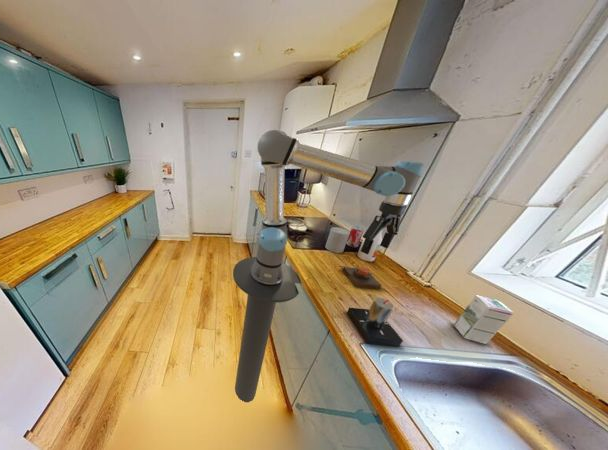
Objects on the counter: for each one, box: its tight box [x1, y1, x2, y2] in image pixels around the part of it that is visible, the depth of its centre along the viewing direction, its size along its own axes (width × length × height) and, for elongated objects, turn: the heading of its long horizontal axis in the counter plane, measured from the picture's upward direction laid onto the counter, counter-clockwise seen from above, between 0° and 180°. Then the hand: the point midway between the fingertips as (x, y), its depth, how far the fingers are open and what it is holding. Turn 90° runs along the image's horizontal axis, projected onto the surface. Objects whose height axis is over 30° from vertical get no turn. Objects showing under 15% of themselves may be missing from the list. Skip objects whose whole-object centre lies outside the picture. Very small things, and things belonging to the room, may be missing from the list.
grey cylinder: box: [324, 226, 350, 254], centre depth 116 cm, size 10×10×12 cm
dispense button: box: [357, 266, 370, 276], centre depth 91 cm, size 4×4×2 cm
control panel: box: [346, 307, 404, 348], centre depth 68 cm, size 12×10×3 cm
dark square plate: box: [342, 266, 382, 290], centre depth 93 cm, size 12×10×4 cm
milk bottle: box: [357, 228, 385, 262], centre depth 106 cm, size 8×8×20 cm
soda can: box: [346, 226, 364, 248], centre depth 120 cm, size 6×6×12 cm
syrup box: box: [453, 294, 515, 345], centre depth 65 cm, size 6×6×14 cm
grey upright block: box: [365, 297, 395, 329], centre depth 66 cm, size 5×5×9 cm
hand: (374, 249), depth 85 cm, fingers open, 13 cm apart
